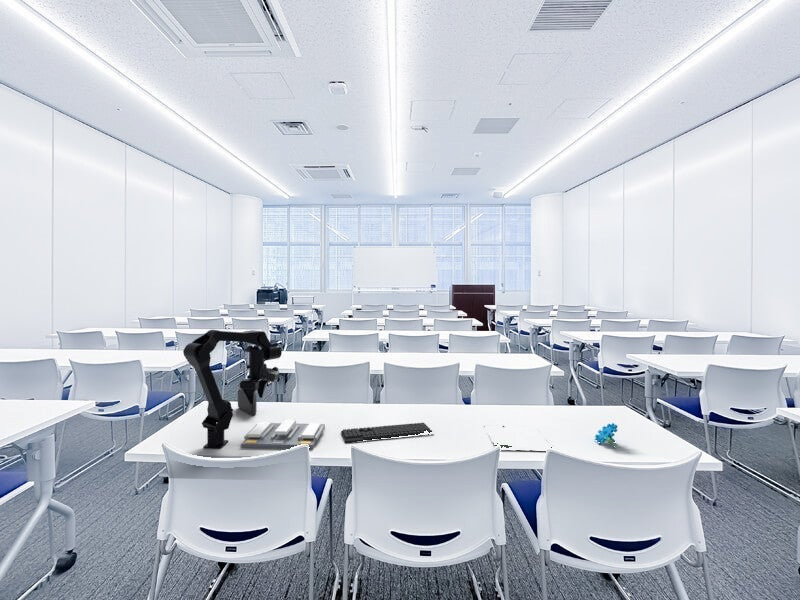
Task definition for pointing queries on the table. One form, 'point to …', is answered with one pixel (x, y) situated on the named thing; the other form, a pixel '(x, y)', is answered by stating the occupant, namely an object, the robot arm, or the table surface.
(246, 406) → the leaning round-cornered charcoal block
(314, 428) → the key
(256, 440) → the switch panel
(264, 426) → the key
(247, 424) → the table surface
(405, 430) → the keyboard
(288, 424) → the key middle
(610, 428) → the blue flower
